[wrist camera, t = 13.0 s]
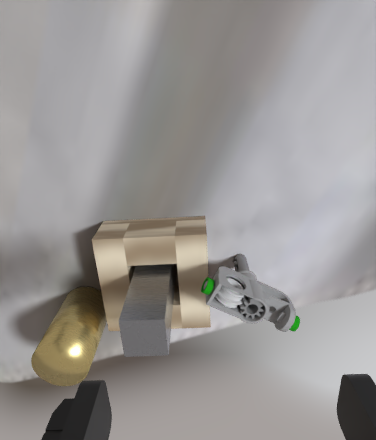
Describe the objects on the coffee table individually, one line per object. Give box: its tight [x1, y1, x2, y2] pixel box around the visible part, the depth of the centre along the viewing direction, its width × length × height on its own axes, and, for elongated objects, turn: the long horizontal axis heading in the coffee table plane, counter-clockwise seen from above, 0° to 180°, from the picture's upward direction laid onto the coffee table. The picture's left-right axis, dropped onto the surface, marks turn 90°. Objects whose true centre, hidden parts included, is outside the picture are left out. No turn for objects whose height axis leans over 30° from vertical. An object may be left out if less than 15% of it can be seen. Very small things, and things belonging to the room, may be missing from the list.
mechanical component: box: [201, 254, 300, 332], centre depth 37 cm, size 3×10×10 cm, turn 64°
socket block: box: [92, 216, 211, 331], centre depth 39 cm, size 12×12×5 cm
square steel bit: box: [119, 264, 175, 357], centre depth 35 cm, size 4×4×12 cm
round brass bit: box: [31, 287, 107, 386], centre depth 40 cm, size 6×6×10 cm
